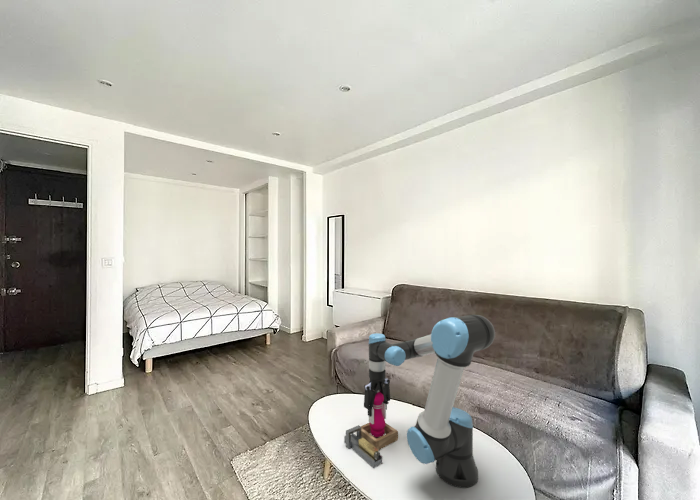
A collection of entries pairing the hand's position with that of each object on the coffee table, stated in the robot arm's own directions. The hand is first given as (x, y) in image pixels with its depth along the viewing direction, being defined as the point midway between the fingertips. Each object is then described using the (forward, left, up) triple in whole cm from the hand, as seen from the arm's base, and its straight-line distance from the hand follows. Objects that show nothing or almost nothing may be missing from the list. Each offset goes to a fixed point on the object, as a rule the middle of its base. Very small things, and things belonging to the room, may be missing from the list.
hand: (377, 419), depth 138 cm
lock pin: (-8, +12, -6) cm, 15 cm away
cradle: (0, 0, -8) cm, 8 cm away
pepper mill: (0, 0, -6) cm, 6 cm away
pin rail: (-4, +12, -8) cm, 15 cm away
